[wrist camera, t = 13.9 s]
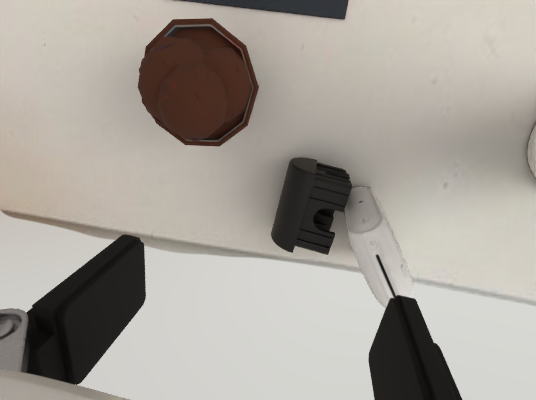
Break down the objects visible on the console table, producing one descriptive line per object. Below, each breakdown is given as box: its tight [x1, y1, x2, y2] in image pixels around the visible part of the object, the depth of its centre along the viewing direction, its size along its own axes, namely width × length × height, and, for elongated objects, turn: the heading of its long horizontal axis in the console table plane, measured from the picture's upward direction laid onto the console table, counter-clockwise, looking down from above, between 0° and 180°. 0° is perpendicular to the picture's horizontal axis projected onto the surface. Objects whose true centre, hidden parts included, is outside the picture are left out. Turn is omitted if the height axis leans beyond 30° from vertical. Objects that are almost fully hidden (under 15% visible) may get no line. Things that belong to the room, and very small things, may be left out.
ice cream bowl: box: [138, 18, 259, 146], centre depth 29 cm, size 11×11×15 cm
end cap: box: [271, 158, 352, 255], centre depth 36 cm, size 10×7×7 cm
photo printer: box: [344, 187, 414, 308], centre depth 33 cm, size 10×4×12 cm, turn 27°
